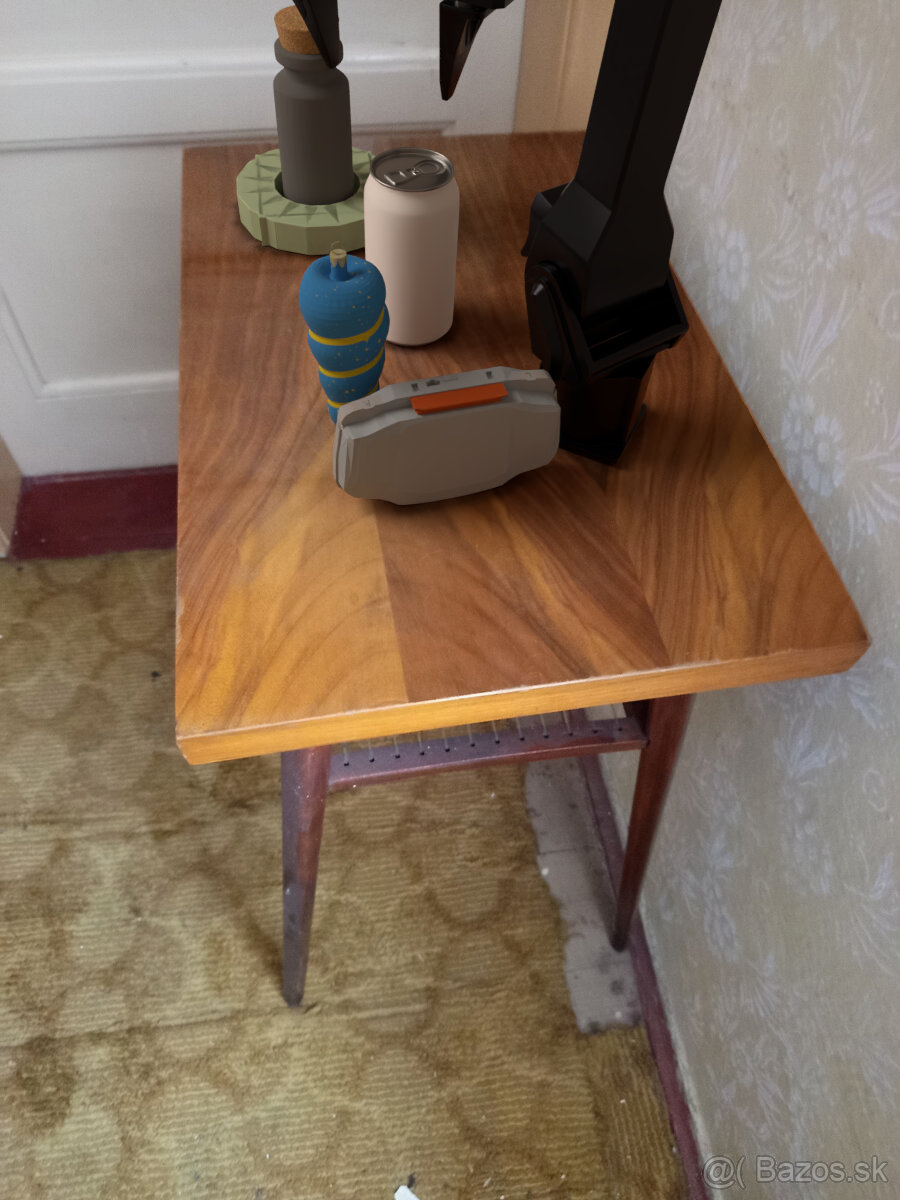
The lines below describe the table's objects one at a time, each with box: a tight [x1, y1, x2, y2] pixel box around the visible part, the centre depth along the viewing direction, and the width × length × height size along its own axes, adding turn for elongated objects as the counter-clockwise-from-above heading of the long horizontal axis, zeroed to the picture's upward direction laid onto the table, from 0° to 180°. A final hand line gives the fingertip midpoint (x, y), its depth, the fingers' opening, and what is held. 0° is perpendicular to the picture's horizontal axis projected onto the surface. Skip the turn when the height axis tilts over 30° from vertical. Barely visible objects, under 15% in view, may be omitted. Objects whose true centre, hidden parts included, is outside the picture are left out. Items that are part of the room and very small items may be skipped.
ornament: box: [298, 242, 390, 426], centre depth 55 cm, size 5×5×15 cm
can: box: [364, 146, 461, 347], centre depth 65 cm, size 6×6×12 cm
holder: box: [235, 146, 376, 256], centre depth 77 cm, size 13×13×2 cm
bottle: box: [272, 4, 354, 206], centre depth 72 cm, size 6×6×15 cm
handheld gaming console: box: [332, 365, 561, 506], centre depth 56 cm, size 14×3×8 cm, turn 107°
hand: (389, 82), depth 65 cm, fingers open, 9 cm apart
